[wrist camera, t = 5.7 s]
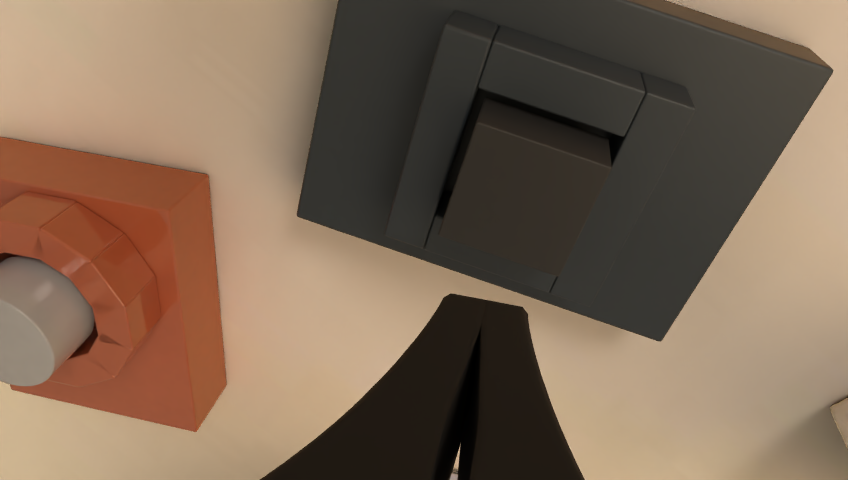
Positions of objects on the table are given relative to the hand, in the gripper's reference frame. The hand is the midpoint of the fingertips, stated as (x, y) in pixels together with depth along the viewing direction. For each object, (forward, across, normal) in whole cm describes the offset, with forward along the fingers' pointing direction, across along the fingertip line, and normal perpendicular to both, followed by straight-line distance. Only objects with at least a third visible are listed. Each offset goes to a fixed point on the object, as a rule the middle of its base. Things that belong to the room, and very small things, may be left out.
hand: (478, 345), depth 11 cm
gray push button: (+6, +14, +7) cm, 17 cm away
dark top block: (+7, 0, 0) cm, 7 cm away
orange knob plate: (+10, +14, +8) cm, 19 cm away
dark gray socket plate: (+10, 0, 0) cm, 10 cm away
